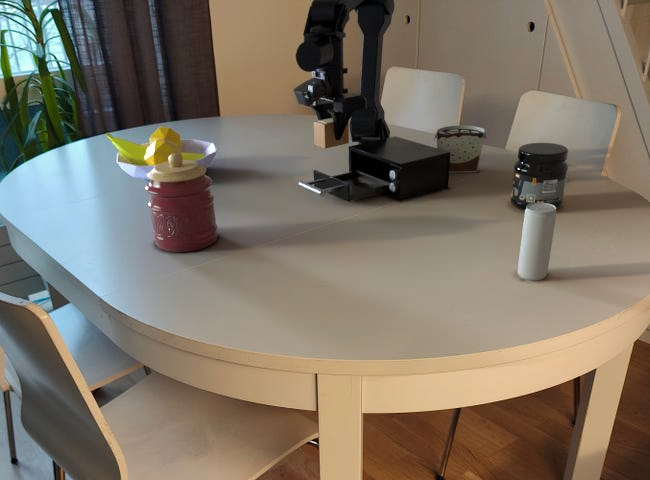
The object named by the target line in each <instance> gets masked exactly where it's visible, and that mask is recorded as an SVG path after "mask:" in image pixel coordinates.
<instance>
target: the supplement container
mask: <svg viewBox="0 0 650 480" xmlns="http://www.w3.org/2000/svg"><path fill="white" fill-rule="evenodd" d="M568 153H569V149H568V148H567V147H566V146H565V145H562V144H559V143H553V142H531V143H526V144H523V145H520V146H519V148H518V151H517V159H518V160H517V161H515V163H514V165H513V178H512V187H511V195H510V203H511V205H512V206H513V207H514V208H516V209H518V210H519V211H524V212H525V210H526V207H527V205H529V204H532V203H548V204H552V205H554V206H555V207H556V210H557V209H559V208H560V207H561V206H562V205H563V201H564V193H565V186H566V181H567V173H568V170H569V164H568V162H567V161H566V160H567V159H568Z"/></svg>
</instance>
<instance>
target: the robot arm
mask: <svg viewBox="0 0 650 480" xmlns="http://www.w3.org/2000/svg"><path fill="white" fill-rule="evenodd" d="M352 11H354V12H355V13H356V22H357V25H358V26H359V29H360V31H361V33H362V50H361V51H362V52H361V69H360V87H359V93H356V92H350V93H349V88H347V87H345V76H344V75H345V74H346V75H347V74H348V71H349V70H348V69H349V68H348V67H345V66H344V38H346V37H347V34H346V32H345V31H344V30H345V29H346V26H347V23H348V22H349V21H350V19H351V18H350V13H351V12H352ZM394 12H395V0H312V1H311V5H310V6H309V9H308V12H307V16H306V21H305V24H304V28H303V33H302V36H303V42H301V43H300V44H299V45H298V47H297V49H296V52H295V61H296V64H297V66H298V67H299V68H300V69H301V70H302V71H304V72H306V73H311V78H309V79H308V80H305V81H304V82H302V83H301V84H299V85H297V86H296V87H294V88H293V93H294V97H295V98H296V101H297V104H298V105H304V107H308V108H310V109H311V110H312V111H314V113H315V114H316V117H317V121H319V120H324V119H328V118H333V123H334V133H335V139H336V140H340V139H341V137H342V135H343V132H344V130H345V128H346V126H347V123H348V121H349V133H350V137H351V142H352V143H358V144H362V143H367V142H372V141H376V140H381V139H385V138H390V137H391V130H390V128H389V126H388V124H387V121H386V119H385V113H386V112H385V109H384V108H383V106H382V103H381V101H380V89H381V75H382V60H383V44H384V35H385V34H386V32H387V30H388V29H389V27H390V26H391V24H392V18H393V14H394Z"/></svg>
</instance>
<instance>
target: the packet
mask: <svg viewBox="0 0 650 480" xmlns="http://www.w3.org/2000/svg"><path fill="white" fill-rule="evenodd" d="M349 134H350V120H349V121H348V123H347V126H346V128H345V130H344V132H343V135H342V137H341V139H340V140H336V139H335V133H334V123H333V117H332V118H328V119H324V120H314V121H313V137H314V139H313V140H314V143H313V144H314V146H317V147H319V148H322V149H330V148H334V147H338V146H343V145H347V144H349V143H350V136H349Z"/></svg>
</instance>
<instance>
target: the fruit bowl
mask: <svg viewBox="0 0 650 480" xmlns="http://www.w3.org/2000/svg"><path fill="white" fill-rule="evenodd" d="M105 137H106V138H108V140H110V142H111V144H112V145H113V146H114V147H115V148H116V149H117V150H118V151H119V152H117V153H116V163H117V164H118V166H119V167H120V168H121V170H123V171H124V172H126V173H127V174H128V175H130V176H131V177H132V178H137V179H142V180H148V181H151V179H149V178H148V173H149V172H150V171H151V170H153V169H154V167H155V166H157V165H158V164H161V163H164V162H168V161H169V157H170V155H171V154H174V153H177V154H179V155H180V156H181V157H182V160H192V161H195V162H197V163H198V164H200V165H202V166H204V167H205V168H206V169H207V168H208V167H210V165H211V163H212V162H213V161H214V158H215V157H216V155H217V153H218V149H217V146H216V144H215V143H214V142H210V141H205V140H199V139H194V138H192V139H191V138H189V139H182V138H181V135H180V133H178V132H176V131H175V130H174V129H173V128H171V127H168V126H164V125H163V126H162V125H159V127H158V128H157V129H156V130H155V131H154V132H153V133H152V134H151V135H150V136H149V137H148V139H149V142H147V143H141V144H139V143H135V142H132V141H129V140H127V139H123V138H119V137H116V136H113V135H112V134H110V133H109V132H106V133H105Z"/></svg>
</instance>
